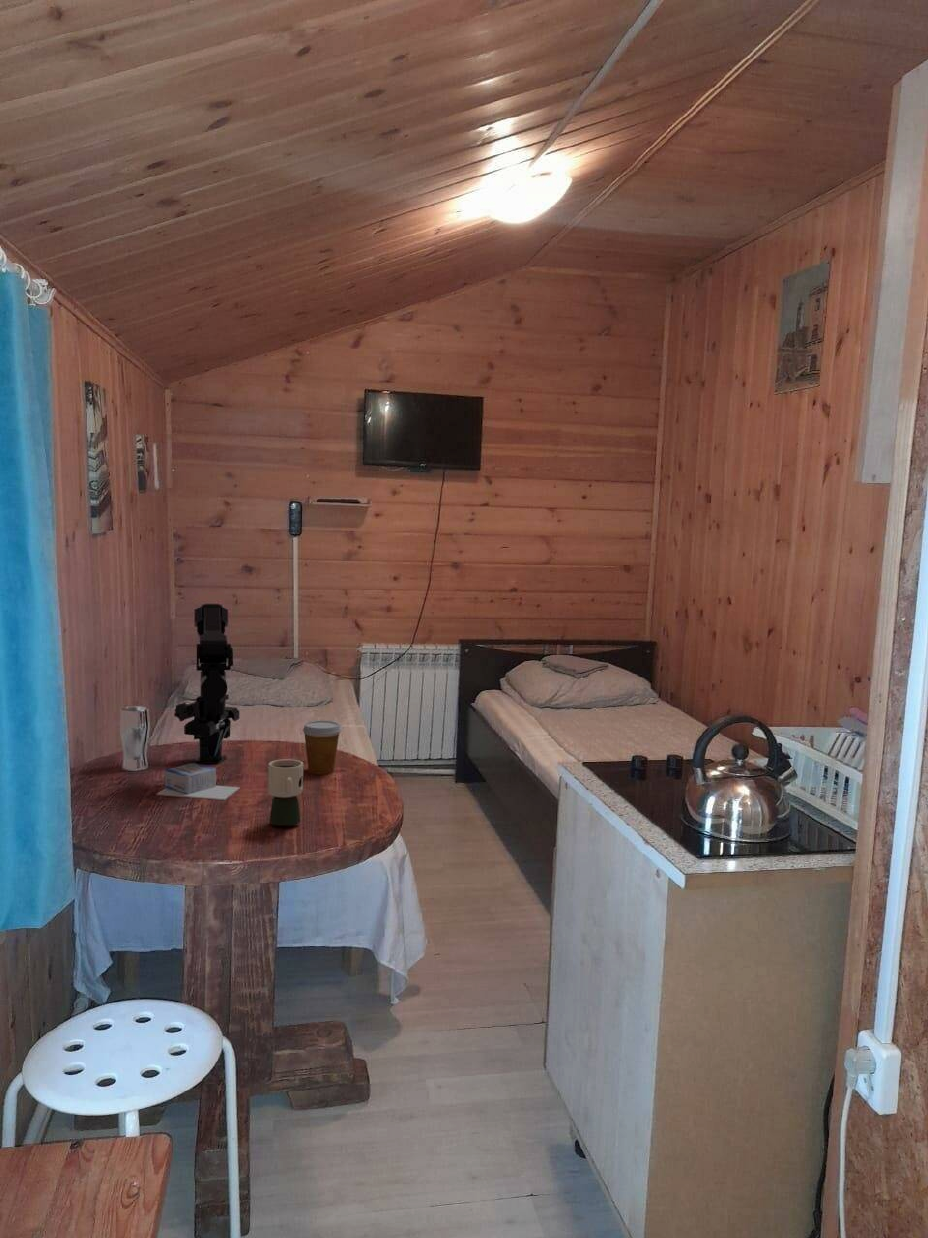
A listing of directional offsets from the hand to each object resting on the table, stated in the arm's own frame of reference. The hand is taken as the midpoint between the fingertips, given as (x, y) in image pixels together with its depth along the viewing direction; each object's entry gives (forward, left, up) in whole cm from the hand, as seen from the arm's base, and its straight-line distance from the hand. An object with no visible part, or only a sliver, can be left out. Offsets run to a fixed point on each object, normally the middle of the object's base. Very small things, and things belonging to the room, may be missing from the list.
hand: (212, 756), depth 217 cm
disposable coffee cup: (-15, +22, -7) cm, 28 cm away
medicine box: (+2, -1, -4) cm, 4 cm away
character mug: (+25, +26, -7) cm, 36 cm away
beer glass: (-6, -23, -7) cm, 25 cm away
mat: (+8, 0, -6) cm, 10 cm away
